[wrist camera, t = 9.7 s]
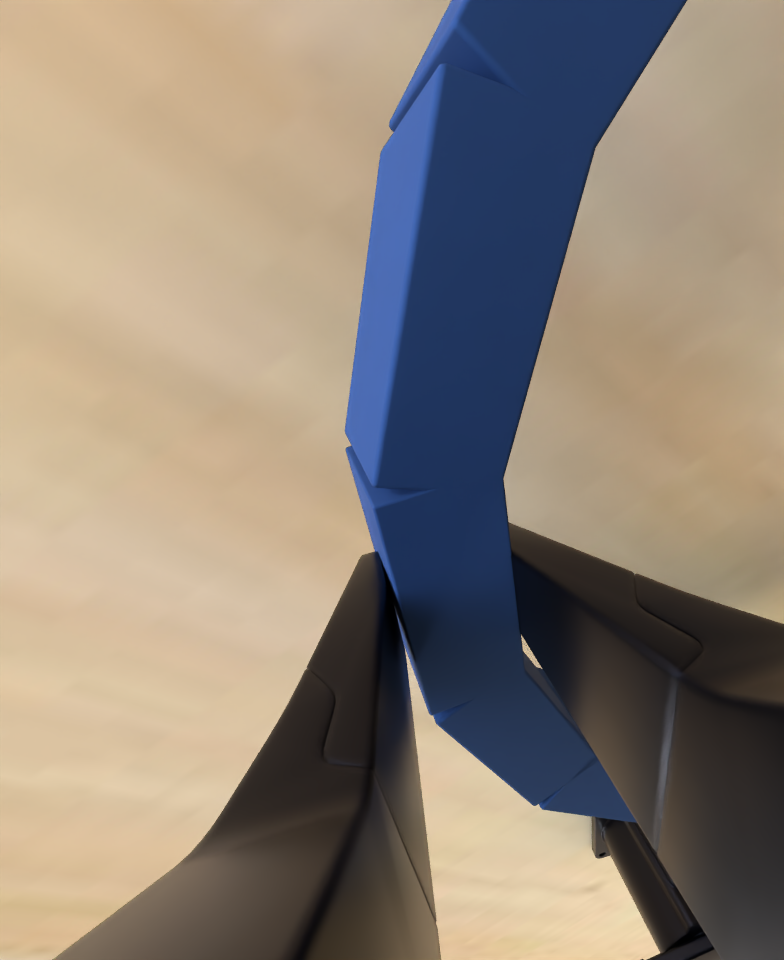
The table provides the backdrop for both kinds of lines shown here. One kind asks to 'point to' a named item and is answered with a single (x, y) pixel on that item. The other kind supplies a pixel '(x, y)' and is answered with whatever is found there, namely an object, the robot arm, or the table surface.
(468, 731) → the ring
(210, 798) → the table surface
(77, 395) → the table surface
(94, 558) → the table surface
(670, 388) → the table surface
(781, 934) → the robot arm
